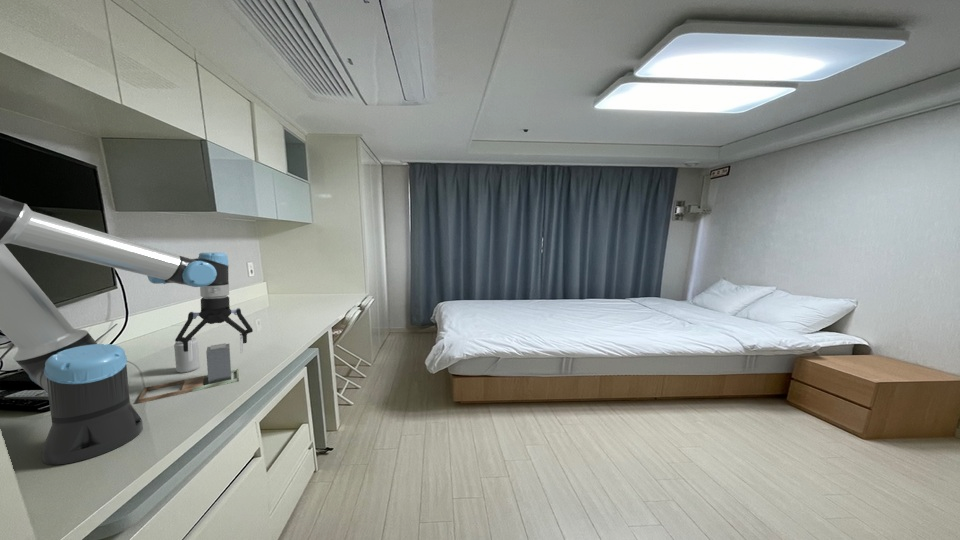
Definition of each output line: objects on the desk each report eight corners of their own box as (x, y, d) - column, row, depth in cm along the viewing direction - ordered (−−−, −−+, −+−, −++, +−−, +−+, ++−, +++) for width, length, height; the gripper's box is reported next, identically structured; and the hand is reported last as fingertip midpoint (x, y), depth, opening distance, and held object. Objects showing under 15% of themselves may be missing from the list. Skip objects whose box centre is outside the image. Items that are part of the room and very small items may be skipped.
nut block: (208, 385, 103) (206, 350, 101) (209, 379, 107) (207, 345, 106) (231, 380, 106) (229, 346, 105) (231, 374, 111) (229, 342, 110)
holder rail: (137, 403, 91) (137, 400, 91) (145, 390, 99) (145, 387, 98) (238, 381, 106) (238, 378, 106) (238, 371, 114) (238, 368, 114)
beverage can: (204, 367, 117) (202, 337, 116) (186, 374, 111) (184, 342, 109) (189, 366, 118) (187, 336, 116) (171, 373, 111) (168, 342, 110)
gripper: (161, 301, 93) (164, 367, 95) (260, 295, 109) (261, 352, 111) (165, 298, 99) (168, 360, 100) (258, 292, 115) (260, 346, 116)
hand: (217, 356), depth 105 cm, fingers open, 13 cm apart
